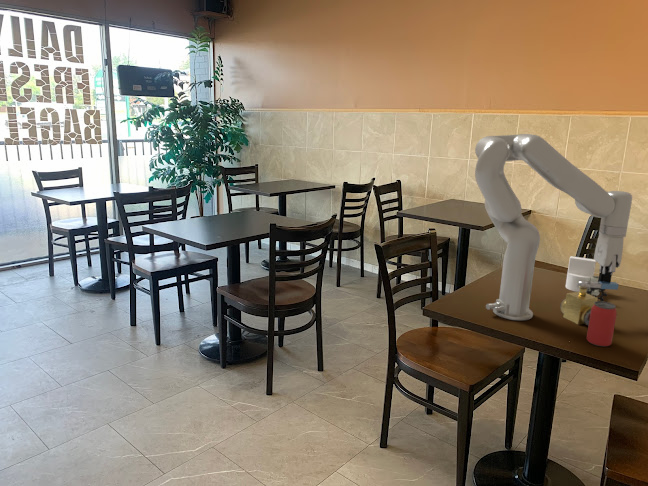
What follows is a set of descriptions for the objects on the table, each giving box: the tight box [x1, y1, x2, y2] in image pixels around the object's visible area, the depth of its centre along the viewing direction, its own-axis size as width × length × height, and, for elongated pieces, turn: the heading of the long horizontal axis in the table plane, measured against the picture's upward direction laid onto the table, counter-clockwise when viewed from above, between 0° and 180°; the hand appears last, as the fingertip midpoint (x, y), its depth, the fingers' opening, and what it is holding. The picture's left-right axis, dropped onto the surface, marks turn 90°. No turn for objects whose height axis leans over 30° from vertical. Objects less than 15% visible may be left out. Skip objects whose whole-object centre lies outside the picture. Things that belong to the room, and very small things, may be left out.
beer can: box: [586, 300, 617, 347], centre depth 148 cm, size 7×7×12 cm
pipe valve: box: [560, 287, 599, 326], centre depth 165 cm, size 12×6×11 cm, turn 18°
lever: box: [577, 280, 619, 290], centre depth 163 cm, size 12×4×2 cm, turn 85°
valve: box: [586, 275, 608, 301], centre depth 187 cm, size 7×7×12 cm
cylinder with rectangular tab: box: [565, 255, 597, 292], centre depth 195 cm, size 9×9×12 cm
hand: (603, 285), depth 166 cm, fingers closed
